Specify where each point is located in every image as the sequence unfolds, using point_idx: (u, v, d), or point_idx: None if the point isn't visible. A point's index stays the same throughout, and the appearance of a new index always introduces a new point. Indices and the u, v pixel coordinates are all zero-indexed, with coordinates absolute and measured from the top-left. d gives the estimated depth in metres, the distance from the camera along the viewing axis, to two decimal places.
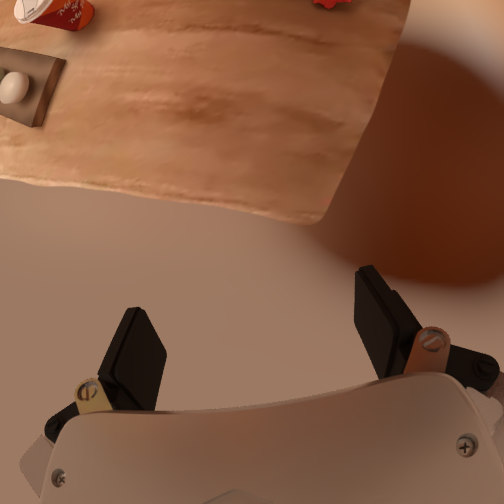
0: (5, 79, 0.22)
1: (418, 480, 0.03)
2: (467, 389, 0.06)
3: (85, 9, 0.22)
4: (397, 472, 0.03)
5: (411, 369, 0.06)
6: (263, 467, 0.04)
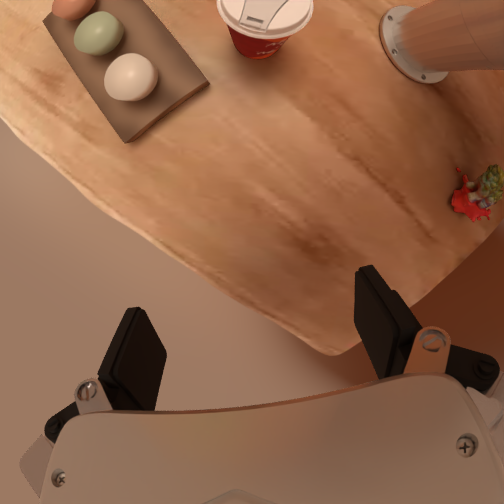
0: (127, 59, 0.21)
1: (418, 480, 0.03)
2: (467, 389, 0.06)
3: (279, 47, 0.24)
4: (397, 472, 0.03)
5: (411, 369, 0.06)
6: (263, 467, 0.04)
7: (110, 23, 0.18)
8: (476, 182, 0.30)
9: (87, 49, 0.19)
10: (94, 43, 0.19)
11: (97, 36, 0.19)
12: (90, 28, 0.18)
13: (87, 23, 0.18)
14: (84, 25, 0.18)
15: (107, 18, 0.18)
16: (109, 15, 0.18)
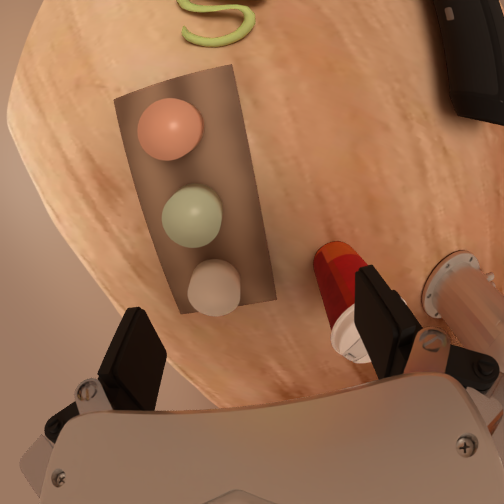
0: (220, 280, 0.26)
1: (418, 480, 0.03)
2: (467, 389, 0.06)
3: None
4: (397, 472, 0.03)
5: (411, 369, 0.06)
6: (263, 467, 0.04)
7: (215, 225, 0.24)
8: None
9: (177, 240, 0.24)
10: (188, 239, 0.24)
11: (194, 232, 0.24)
12: (188, 213, 0.23)
13: (186, 203, 0.23)
14: (180, 201, 0.23)
15: (213, 214, 0.23)
16: (217, 212, 0.23)
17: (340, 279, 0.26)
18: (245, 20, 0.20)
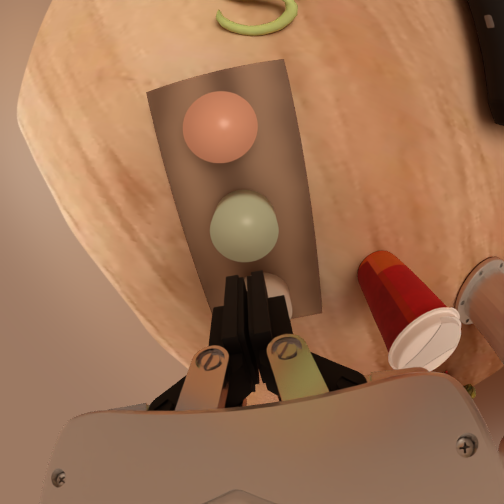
0: None
1: (418, 480, 0.03)
2: None
3: None
4: (397, 472, 0.03)
5: (284, 383, 0.07)
6: (263, 467, 0.04)
7: (272, 237, 0.21)
8: None
9: (227, 254, 0.22)
10: (240, 253, 0.22)
11: (247, 245, 0.22)
12: (241, 224, 0.21)
13: (239, 212, 0.20)
14: (233, 210, 0.20)
15: (270, 226, 0.21)
16: (275, 223, 0.21)
17: (395, 292, 0.23)
18: (287, 10, 0.17)
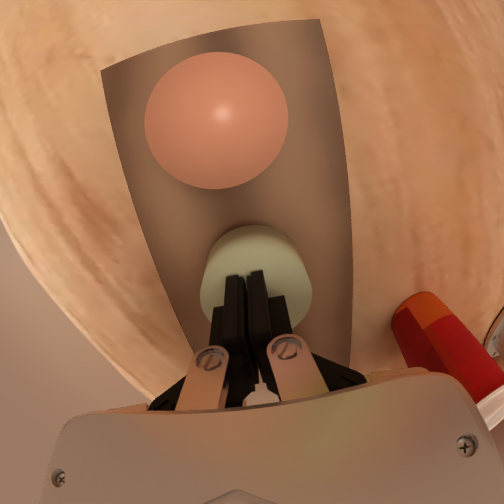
0: None
1: (418, 480, 0.03)
2: None
3: None
4: (397, 472, 0.03)
5: (284, 383, 0.07)
6: (263, 467, 0.04)
7: (300, 307, 0.13)
8: None
9: None
10: None
11: None
12: None
13: (249, 272, 0.12)
14: (239, 269, 0.12)
15: (300, 291, 0.13)
16: (307, 287, 0.13)
17: (449, 359, 0.15)
18: None
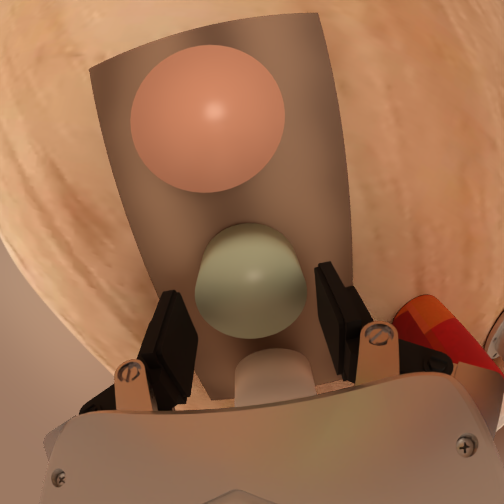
0: (292, 390, 0.15)
1: (418, 480, 0.03)
2: None
3: None
4: (397, 472, 0.03)
5: (364, 366, 0.07)
6: (263, 467, 0.04)
7: (295, 305, 0.13)
8: None
9: (224, 328, 0.14)
10: (244, 327, 0.14)
11: (256, 316, 0.13)
12: (247, 288, 0.12)
13: (244, 270, 0.12)
14: (233, 267, 0.12)
15: (295, 289, 0.13)
16: (302, 285, 0.13)
17: None
18: None
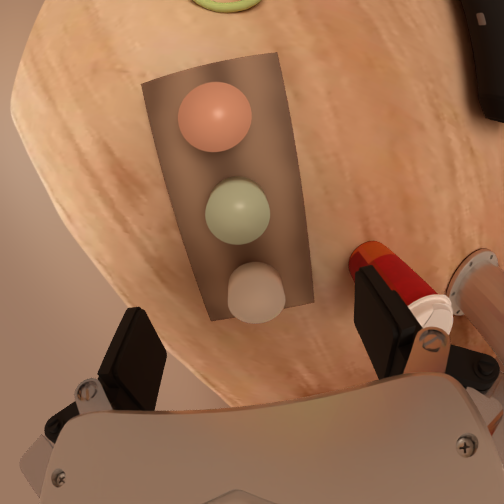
0: (265, 285, 0.24)
1: (418, 480, 0.03)
2: (467, 389, 0.06)
3: None
4: (397, 472, 0.03)
5: (411, 369, 0.06)
6: (263, 467, 0.04)
7: (263, 220, 0.23)
8: None
9: (221, 236, 0.23)
10: (234, 236, 0.23)
11: (241, 228, 0.23)
12: (235, 208, 0.22)
13: (233, 196, 0.22)
14: (227, 195, 0.21)
15: (262, 209, 0.22)
16: (267, 206, 0.22)
17: (386, 280, 0.24)
18: None
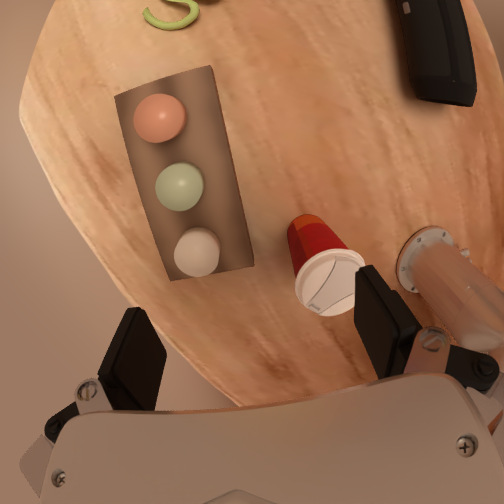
0: (201, 243, 0.31)
1: (418, 480, 0.03)
2: (467, 389, 0.06)
3: None
4: (397, 472, 0.03)
5: (411, 369, 0.06)
6: (263, 467, 0.04)
7: (197, 192, 0.29)
8: None
9: (167, 205, 0.30)
10: (176, 204, 0.30)
11: (181, 198, 0.29)
12: (176, 183, 0.29)
13: (174, 174, 0.28)
14: (170, 173, 0.28)
15: (196, 183, 0.29)
16: (198, 181, 0.29)
17: (305, 241, 0.30)
18: (189, 13, 0.23)
